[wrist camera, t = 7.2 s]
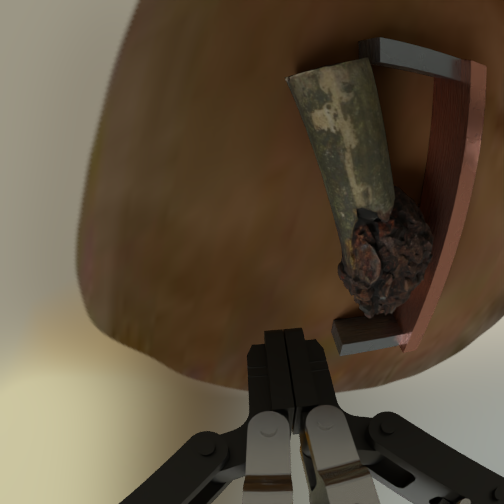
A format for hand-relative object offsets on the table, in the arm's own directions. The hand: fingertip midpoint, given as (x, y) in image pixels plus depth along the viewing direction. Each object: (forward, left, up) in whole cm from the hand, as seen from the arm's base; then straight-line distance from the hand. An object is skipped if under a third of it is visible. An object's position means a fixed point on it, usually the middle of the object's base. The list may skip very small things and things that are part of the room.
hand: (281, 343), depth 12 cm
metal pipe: (-7, -2, -11) cm, 13 cm away
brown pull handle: (-10, -1, -11) cm, 14 cm away
